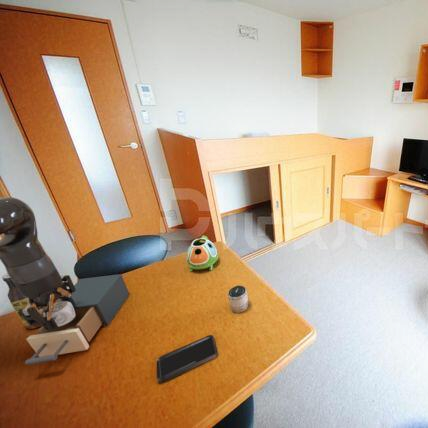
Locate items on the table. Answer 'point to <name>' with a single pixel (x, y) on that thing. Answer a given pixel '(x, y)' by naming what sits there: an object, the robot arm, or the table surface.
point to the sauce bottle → (18, 299)
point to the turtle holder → (201, 254)
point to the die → (62, 313)
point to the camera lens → (238, 299)
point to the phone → (185, 358)
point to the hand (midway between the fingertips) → (62, 318)
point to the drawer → (65, 336)
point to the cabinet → (101, 295)
